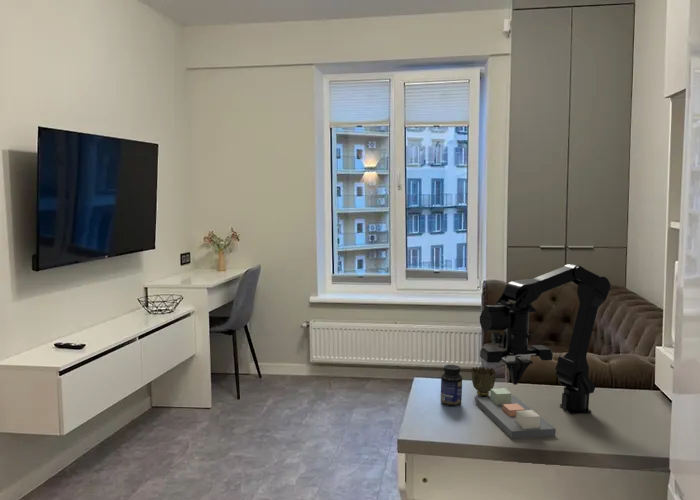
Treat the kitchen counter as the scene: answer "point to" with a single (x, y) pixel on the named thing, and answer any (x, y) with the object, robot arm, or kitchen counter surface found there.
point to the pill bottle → (451, 386)
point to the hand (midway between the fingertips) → (514, 384)
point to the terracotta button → (512, 409)
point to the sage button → (500, 396)
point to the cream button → (527, 419)
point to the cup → (483, 380)
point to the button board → (513, 420)
